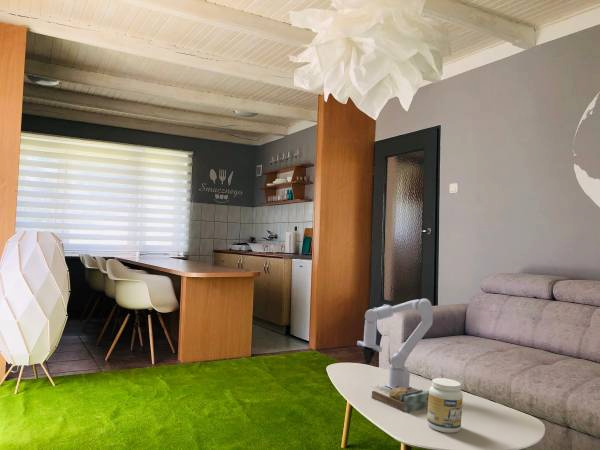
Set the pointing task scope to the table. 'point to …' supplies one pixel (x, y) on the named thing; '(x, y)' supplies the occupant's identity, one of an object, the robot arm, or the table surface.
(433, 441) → the table surface
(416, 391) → the pusher plate
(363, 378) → the table surface
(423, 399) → the brown wooden tray
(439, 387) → the supplement tub
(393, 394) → the bread roll
